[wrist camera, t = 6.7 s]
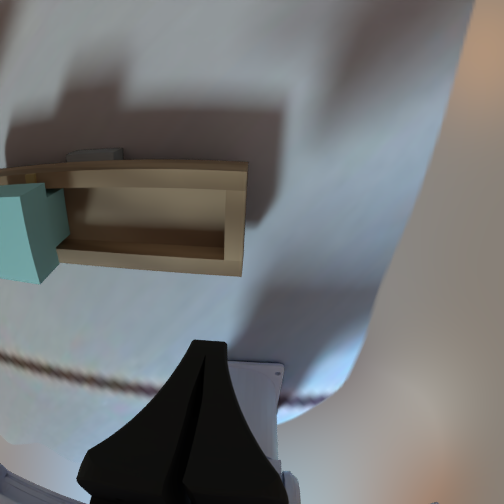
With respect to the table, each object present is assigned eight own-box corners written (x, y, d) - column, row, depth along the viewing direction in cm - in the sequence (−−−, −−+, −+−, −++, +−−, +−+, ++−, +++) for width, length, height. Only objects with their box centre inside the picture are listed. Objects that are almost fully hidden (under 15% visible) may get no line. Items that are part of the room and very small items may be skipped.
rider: (75, 247, 19) (40, 284, 15) (28, 244, 19) (-8, 276, 15) (64, 172, 17) (19, 196, 13) (16, 175, 17) (-28, 198, 13)
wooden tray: (244, 252, 22) (241, 286, 18) (13, 238, 22) (-15, 261, 18) (249, 149, 19) (247, 162, 15) (-1, 159, 19) (-35, 174, 15)
